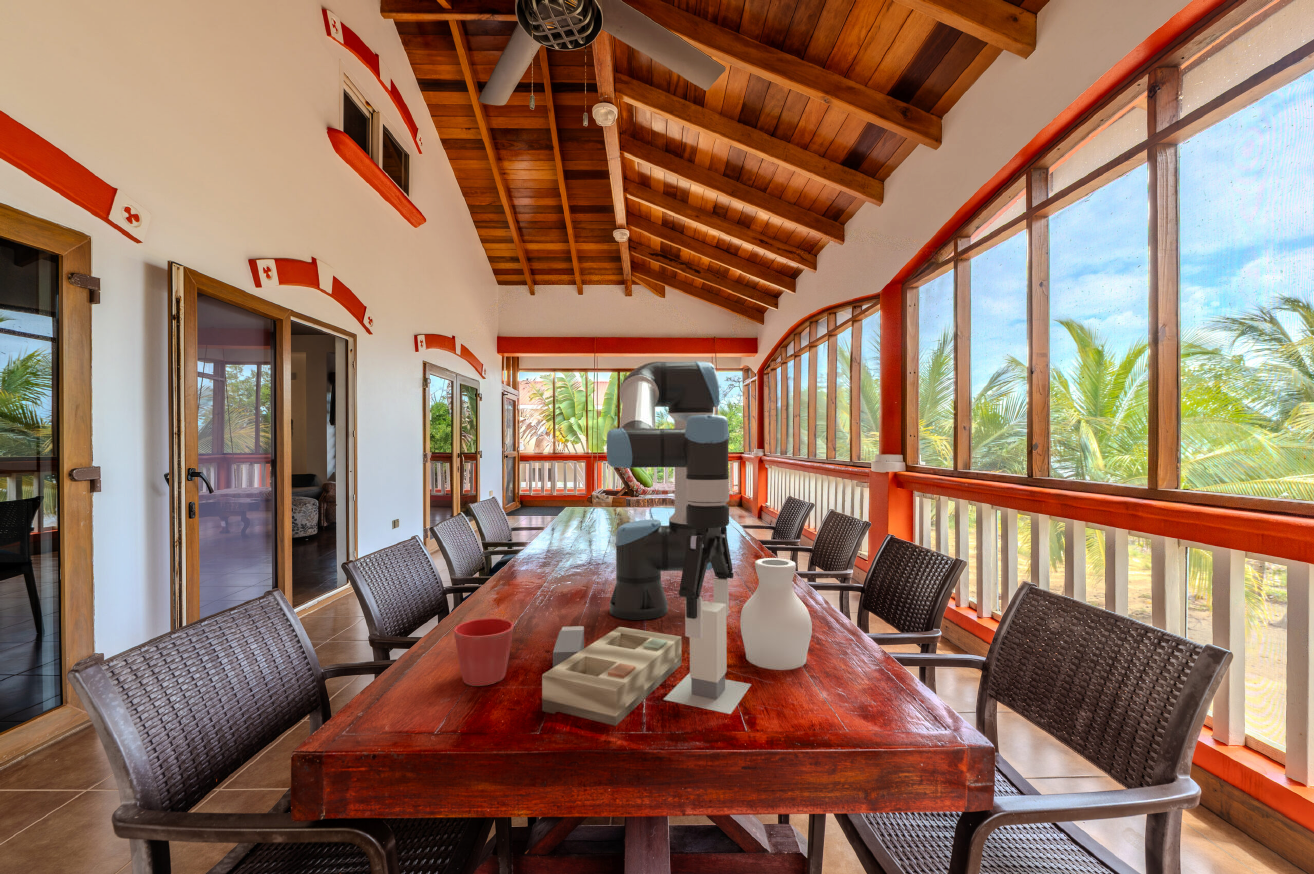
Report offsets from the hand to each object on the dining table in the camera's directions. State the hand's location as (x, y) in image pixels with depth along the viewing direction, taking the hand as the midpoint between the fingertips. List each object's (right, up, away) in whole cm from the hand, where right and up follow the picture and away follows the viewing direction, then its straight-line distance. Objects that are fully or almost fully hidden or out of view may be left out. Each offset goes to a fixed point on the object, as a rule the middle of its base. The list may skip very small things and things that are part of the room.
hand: (708, 625), depth 98 cm
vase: (+15, -13, +15) cm, 25 cm away
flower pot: (-42, -13, +8) cm, 44 cm away
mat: (0, -12, 0) cm, 12 cm away
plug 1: (-27, -13, +15) cm, 33 cm away
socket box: (-16, -13, +4) cm, 21 cm away
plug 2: (0, -12, 0) cm, 12 cm away
